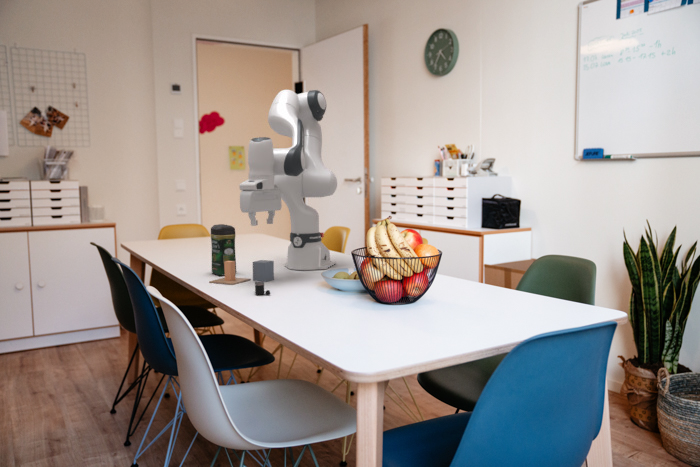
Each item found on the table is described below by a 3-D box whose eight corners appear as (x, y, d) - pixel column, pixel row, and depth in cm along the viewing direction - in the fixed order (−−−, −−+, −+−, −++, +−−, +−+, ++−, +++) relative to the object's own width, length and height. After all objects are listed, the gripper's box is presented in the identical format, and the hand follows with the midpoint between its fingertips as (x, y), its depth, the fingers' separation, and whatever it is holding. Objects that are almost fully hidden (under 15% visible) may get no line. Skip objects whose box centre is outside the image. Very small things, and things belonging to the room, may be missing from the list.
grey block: (261, 278, 204) (261, 260, 203) (273, 279, 201) (273, 260, 201) (253, 280, 199) (252, 261, 198) (265, 281, 197) (265, 262, 196)
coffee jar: (208, 273, 215) (207, 224, 213) (227, 271, 220) (226, 223, 218) (219, 276, 208) (218, 225, 206) (239, 274, 212) (238, 224, 211)
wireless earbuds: (255, 296, 174) (255, 286, 173) (255, 291, 180) (254, 282, 180) (270, 295, 175) (270, 285, 174) (269, 291, 181) (269, 281, 181)
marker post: (227, 278, 204) (227, 258, 204) (250, 280, 200) (250, 260, 200) (209, 282, 195) (208, 262, 195) (233, 284, 191) (232, 264, 191)
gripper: (270, 184, 208) (271, 222, 209) (236, 184, 190) (237, 226, 191) (285, 184, 205) (286, 223, 206) (251, 184, 187) (252, 226, 188)
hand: (262, 224), depth 198 cm, fingers open, 8 cm apart
